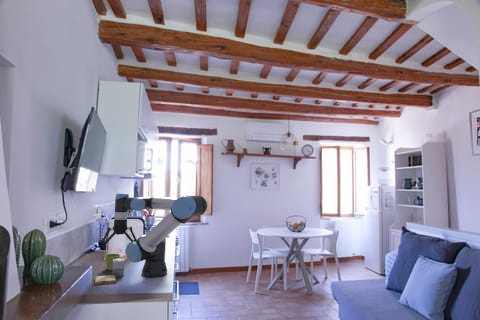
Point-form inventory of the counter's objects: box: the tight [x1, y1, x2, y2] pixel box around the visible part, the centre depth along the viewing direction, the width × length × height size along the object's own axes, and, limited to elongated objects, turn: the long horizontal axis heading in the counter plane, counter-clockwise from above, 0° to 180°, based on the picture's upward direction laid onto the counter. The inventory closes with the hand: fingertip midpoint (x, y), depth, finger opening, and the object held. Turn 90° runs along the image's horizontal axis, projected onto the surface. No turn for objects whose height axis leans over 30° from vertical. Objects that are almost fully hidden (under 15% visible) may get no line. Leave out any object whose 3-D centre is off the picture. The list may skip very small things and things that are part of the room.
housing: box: [111, 257, 125, 278], centre depth 194 cm, size 6×7×9 cm
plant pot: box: [104, 253, 121, 271], centre depth 205 cm, size 9×9×9 cm
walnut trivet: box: [94, 274, 117, 286], centre depth 181 cm, size 11×11×2 cm
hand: (118, 254), depth 194 cm, fingers open, 13 cm apart
